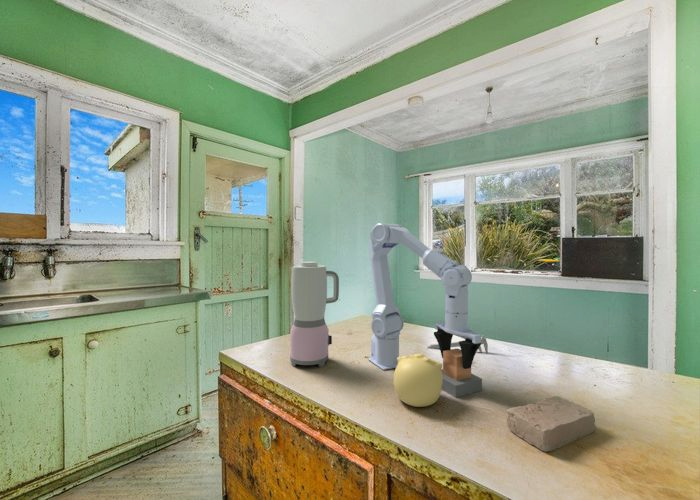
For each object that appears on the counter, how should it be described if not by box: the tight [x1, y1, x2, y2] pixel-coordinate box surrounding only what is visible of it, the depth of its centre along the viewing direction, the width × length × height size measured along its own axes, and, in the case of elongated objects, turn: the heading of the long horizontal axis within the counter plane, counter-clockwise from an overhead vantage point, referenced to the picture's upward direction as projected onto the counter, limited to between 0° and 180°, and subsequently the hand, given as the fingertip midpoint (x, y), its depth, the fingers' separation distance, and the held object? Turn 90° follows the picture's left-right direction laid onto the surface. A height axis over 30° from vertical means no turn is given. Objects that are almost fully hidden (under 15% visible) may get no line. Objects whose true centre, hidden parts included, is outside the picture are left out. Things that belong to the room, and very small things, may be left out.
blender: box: [289, 261, 340, 368], centre depth 100 cm, size 16×12×32 cm
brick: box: [506, 395, 597, 452], centre depth 63 cm, size 16×8×5 cm, turn 115°
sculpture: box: [392, 352, 443, 408], centre depth 75 cm, size 12×12×11 cm
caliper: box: [426, 334, 489, 354], centre depth 110 cm, size 20×1×6 cm, turn 75°
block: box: [442, 347, 472, 381], centre depth 82 cm, size 5×5×6 cm
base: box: [441, 368, 483, 399], centre depth 82 cm, size 9×9×3 cm
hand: (456, 362), depth 82 cm, fingers open, 7 cm apart
